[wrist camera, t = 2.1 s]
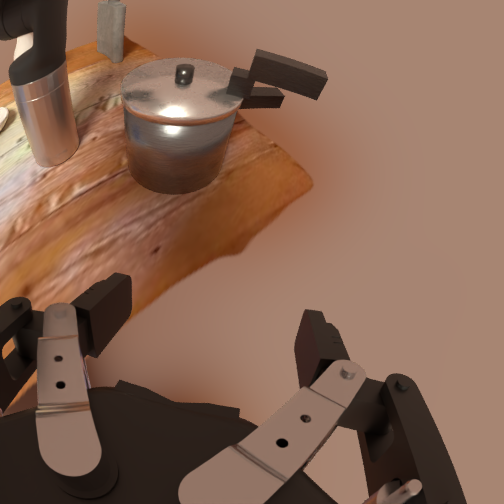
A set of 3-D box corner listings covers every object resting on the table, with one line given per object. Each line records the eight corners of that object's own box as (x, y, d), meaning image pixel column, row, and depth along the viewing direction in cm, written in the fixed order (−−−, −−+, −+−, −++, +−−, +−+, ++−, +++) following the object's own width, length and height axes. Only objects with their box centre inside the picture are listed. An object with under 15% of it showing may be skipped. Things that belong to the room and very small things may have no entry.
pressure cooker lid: (98, 116, 26) (93, 59, 19) (148, 60, 34) (153, 19, 27) (305, 158, 31) (336, 107, 24) (301, 93, 38) (319, 54, 32)
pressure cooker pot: (136, 205, 37) (129, 136, 26) (122, 136, 42) (119, 75, 31) (278, 176, 47) (307, 119, 35) (242, 119, 52) (260, 67, 40)
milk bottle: (50, 84, 45) (43, 19, 28) (27, 99, 41) (14, 33, 24) (39, 79, 45) (32, 19, 28) (17, 94, 41) (6, 33, 24)
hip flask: (96, 50, 55) (97, -5, 38) (107, 46, 57) (110, -8, 40) (114, 64, 53) (117, -1, 36) (127, 59, 55) (132, -3, 38)
